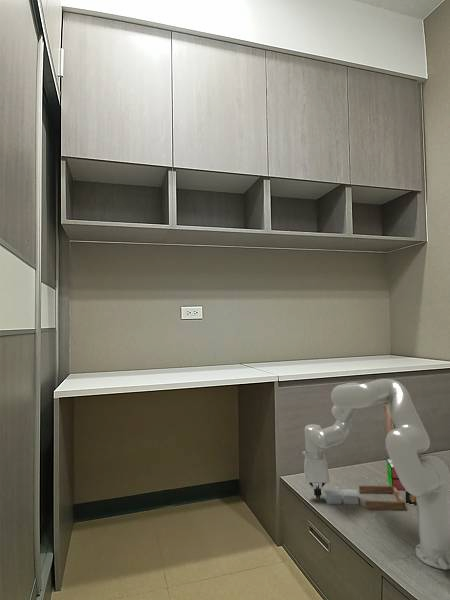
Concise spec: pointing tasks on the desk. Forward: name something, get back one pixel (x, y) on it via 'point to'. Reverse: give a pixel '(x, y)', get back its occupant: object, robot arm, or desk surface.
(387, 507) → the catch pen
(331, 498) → the tile trail
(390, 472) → the puzzle cube
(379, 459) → the desk surface
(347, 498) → the tile
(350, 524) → the desk surface
